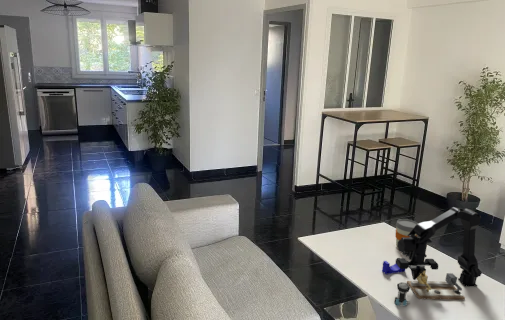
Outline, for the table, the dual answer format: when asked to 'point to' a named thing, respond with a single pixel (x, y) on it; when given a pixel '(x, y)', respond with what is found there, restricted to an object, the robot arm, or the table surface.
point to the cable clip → (391, 268)
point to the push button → (402, 294)
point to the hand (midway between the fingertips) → (414, 279)
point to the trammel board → (435, 290)
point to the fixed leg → (452, 281)
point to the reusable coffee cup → (404, 228)
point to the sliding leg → (423, 280)
